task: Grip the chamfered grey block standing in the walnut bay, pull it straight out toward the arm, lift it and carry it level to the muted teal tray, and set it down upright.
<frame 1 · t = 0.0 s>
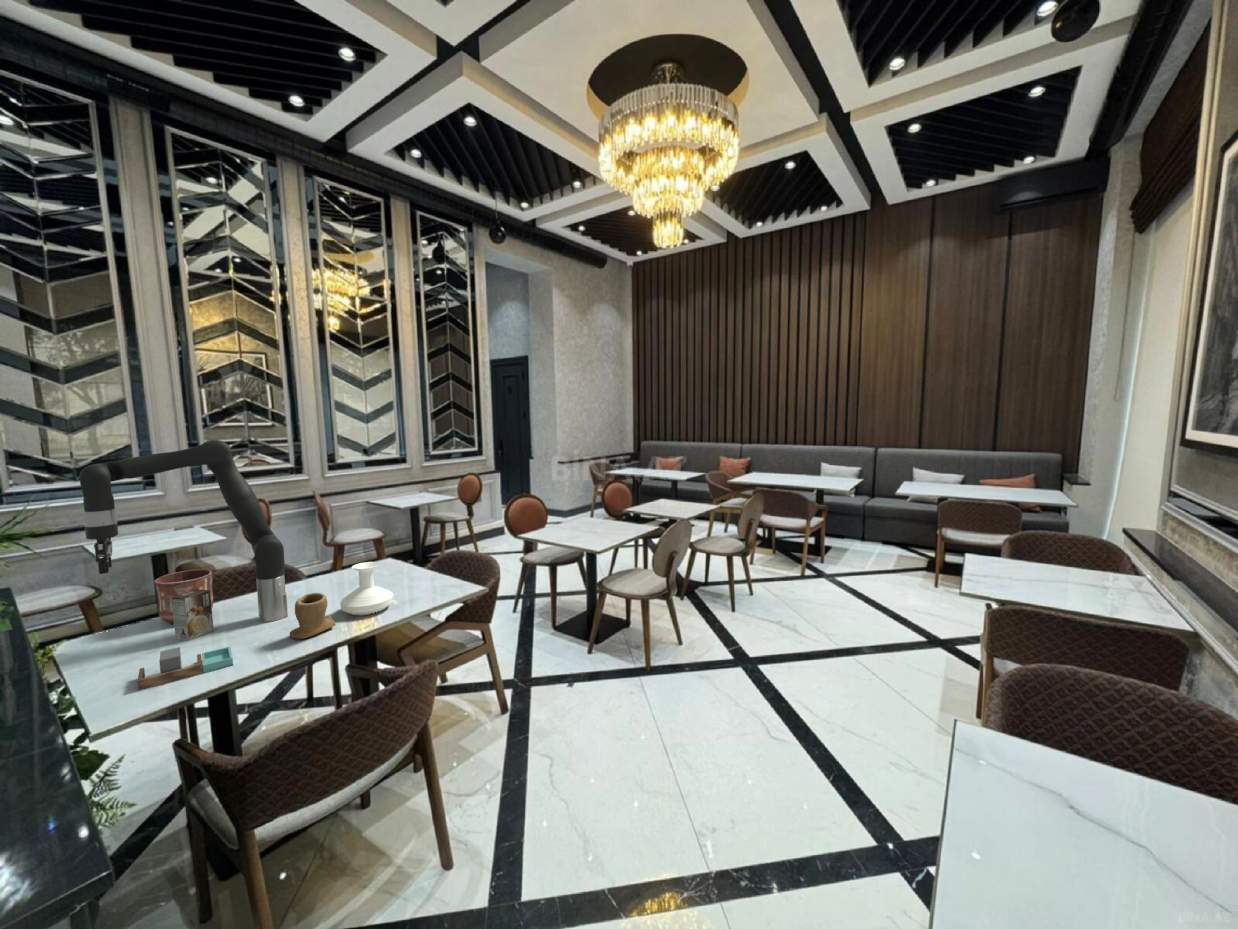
hand: (105, 570, 163), 29 cm above the table, fingers open, 8 cm apart
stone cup: (315, 633, 181), on the table
walnut bay: (171, 674, 151), on the table
pottery: (187, 619, 194), on the table
teal tray: (217, 662, 159), on the table
coffee box: (194, 635, 179), on the table
chamfered grey block: (171, 675, 151), on the table
white vase: (367, 610, 204), on the table
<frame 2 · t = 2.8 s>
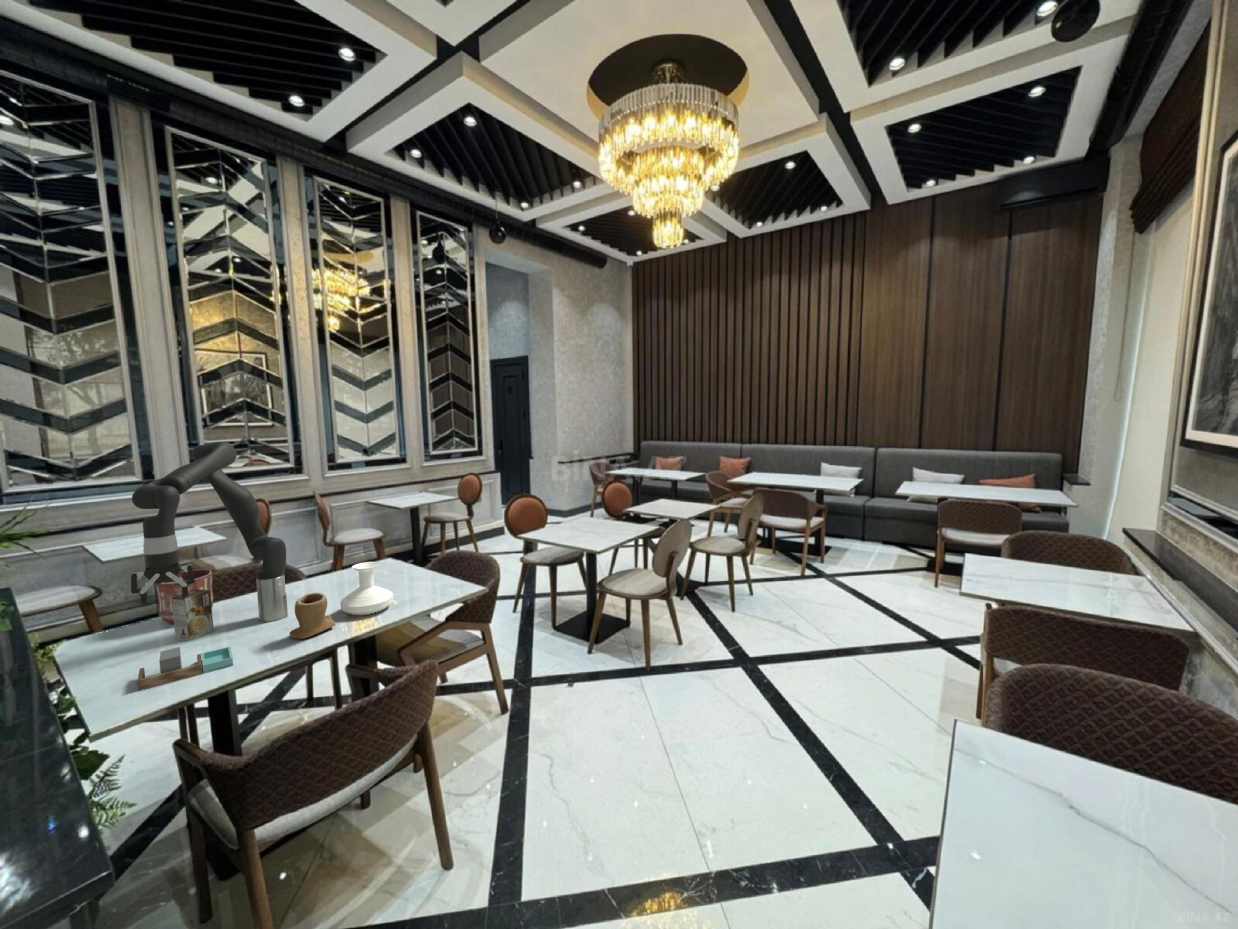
hand: (165, 601, 149), 24 cm above the table, fingers open, 8 cm apart
nothing on the table moved.
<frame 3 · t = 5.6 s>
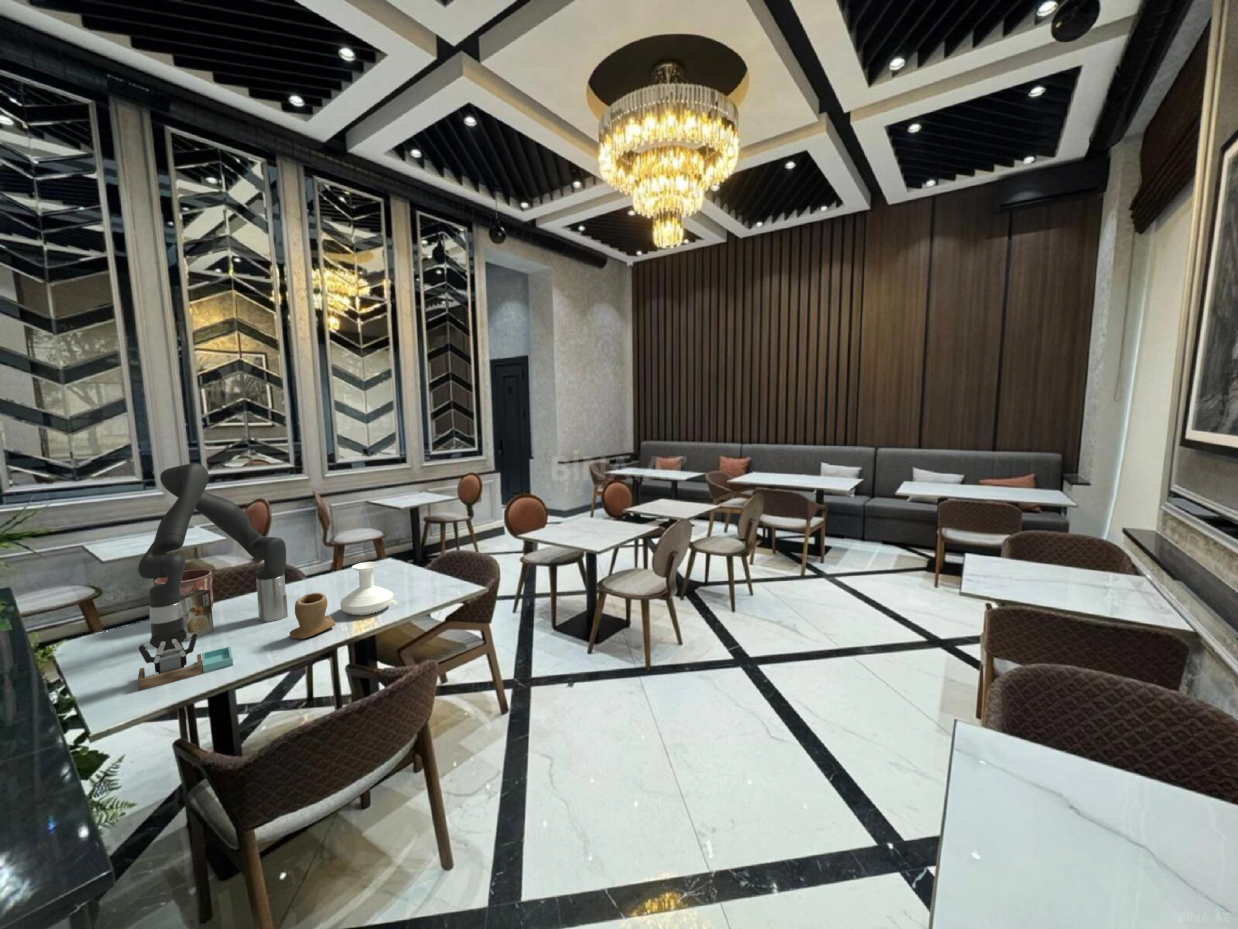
hand: (171, 669, 151), 2 cm above the table, fingers closed on chamfered grey block, 4 cm apart
chamfered grey block: (171, 674, 151), on the table, touching gripper
everything else where it was.
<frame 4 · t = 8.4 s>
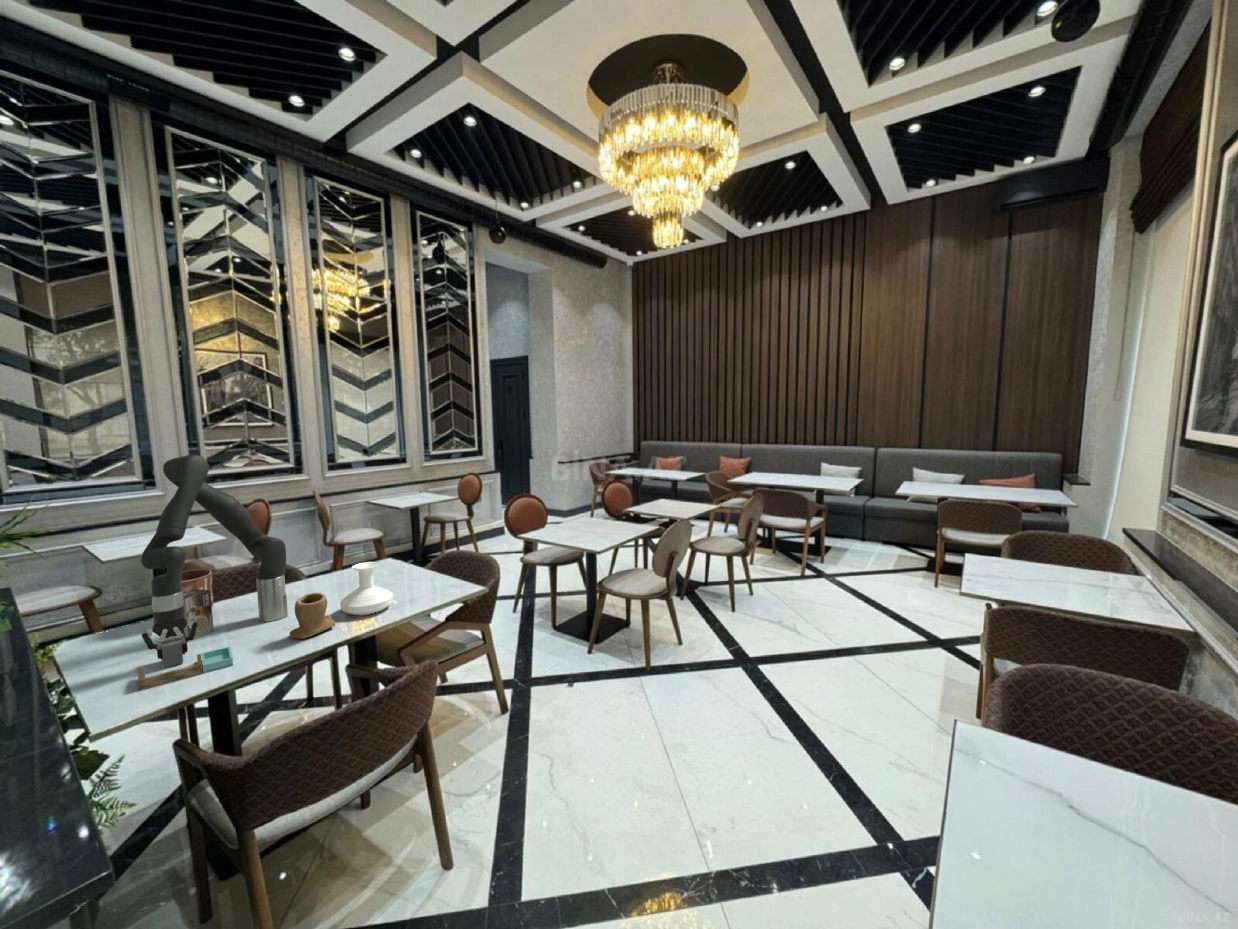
hand: (173, 656, 159), 2 cm above the table, fingers closed on chamfered grey block, 4 cm apart
chamfered grey block: (173, 660, 159), on the table, touching gripper
everything else where it was.
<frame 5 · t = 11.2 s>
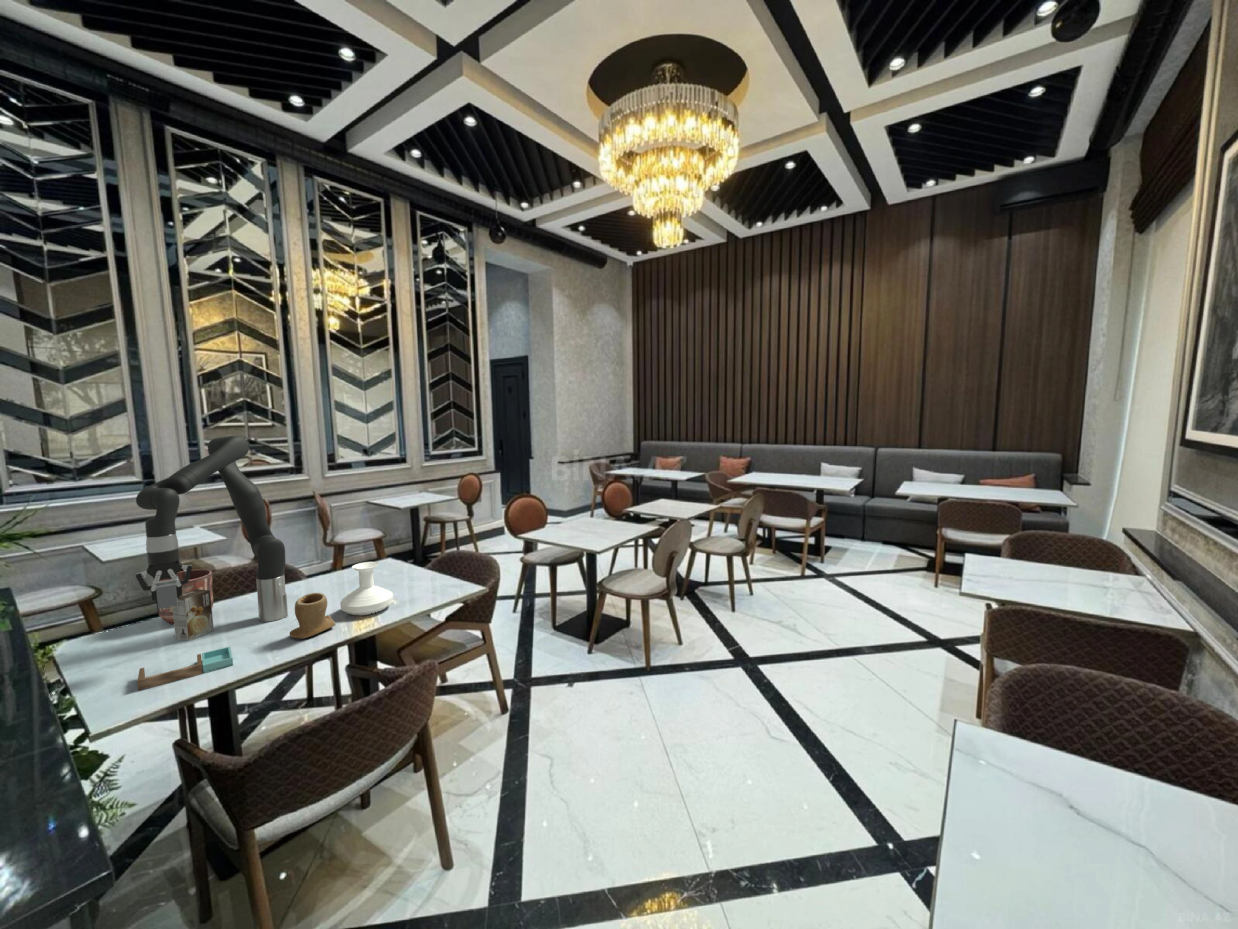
hand: (167, 598, 158), 21 cm above the table, fingers closed on chamfered grey block, 4 cm apart
chamfered grey block: (168, 603, 158), point 20 cm above the table, touching gripper
everything else where it was.
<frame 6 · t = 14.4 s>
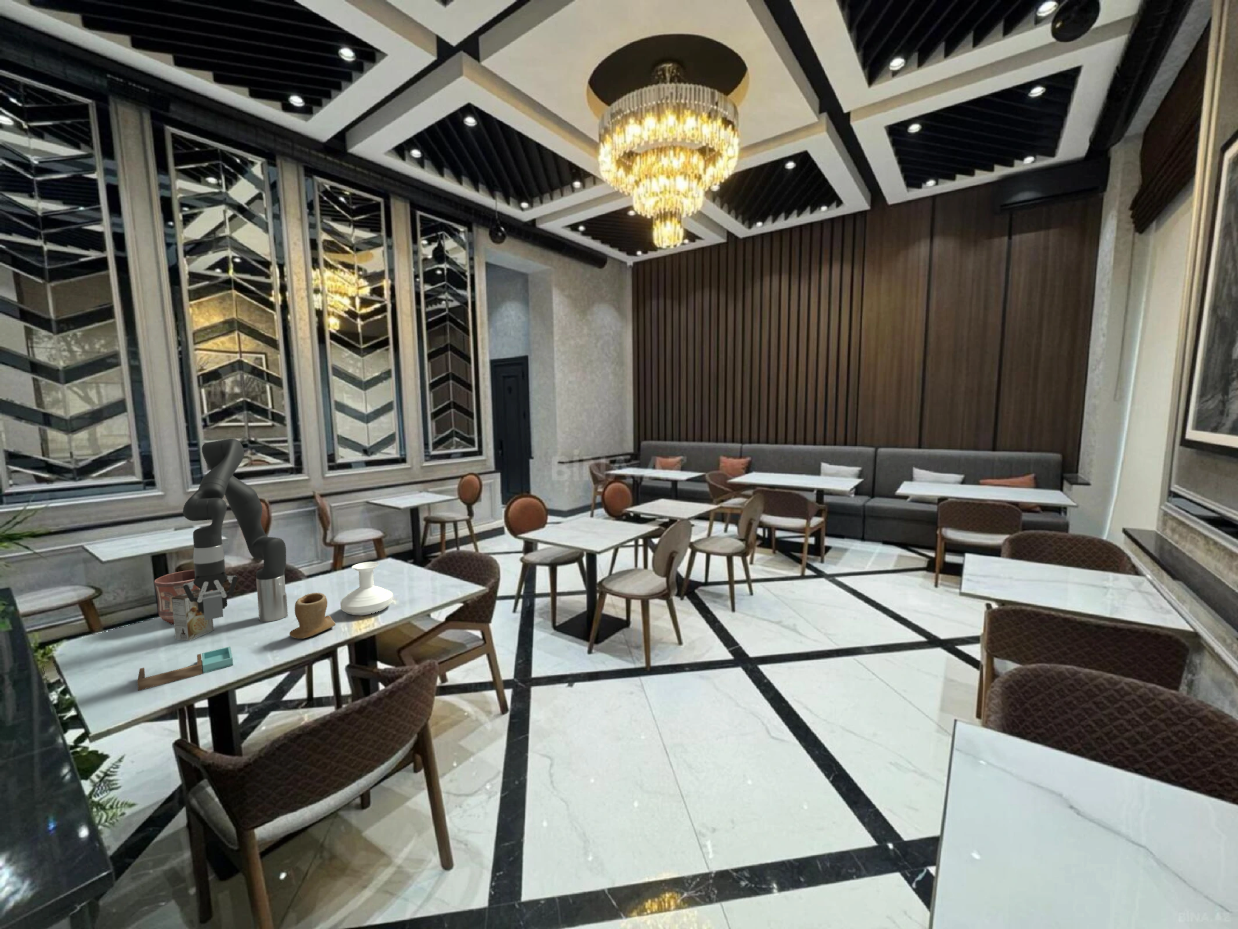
hand: (213, 610, 157), 18 cm above the table, fingers closed on chamfered grey block, 4 cm apart
chamfered grey block: (213, 614, 157), point 16 cm above the table, touching gripper
everything else where it was.
when the fingers open (3 cm above the table, at t = 17.3 s): chamfered grey block drops 1 cm, resting on teal tray.
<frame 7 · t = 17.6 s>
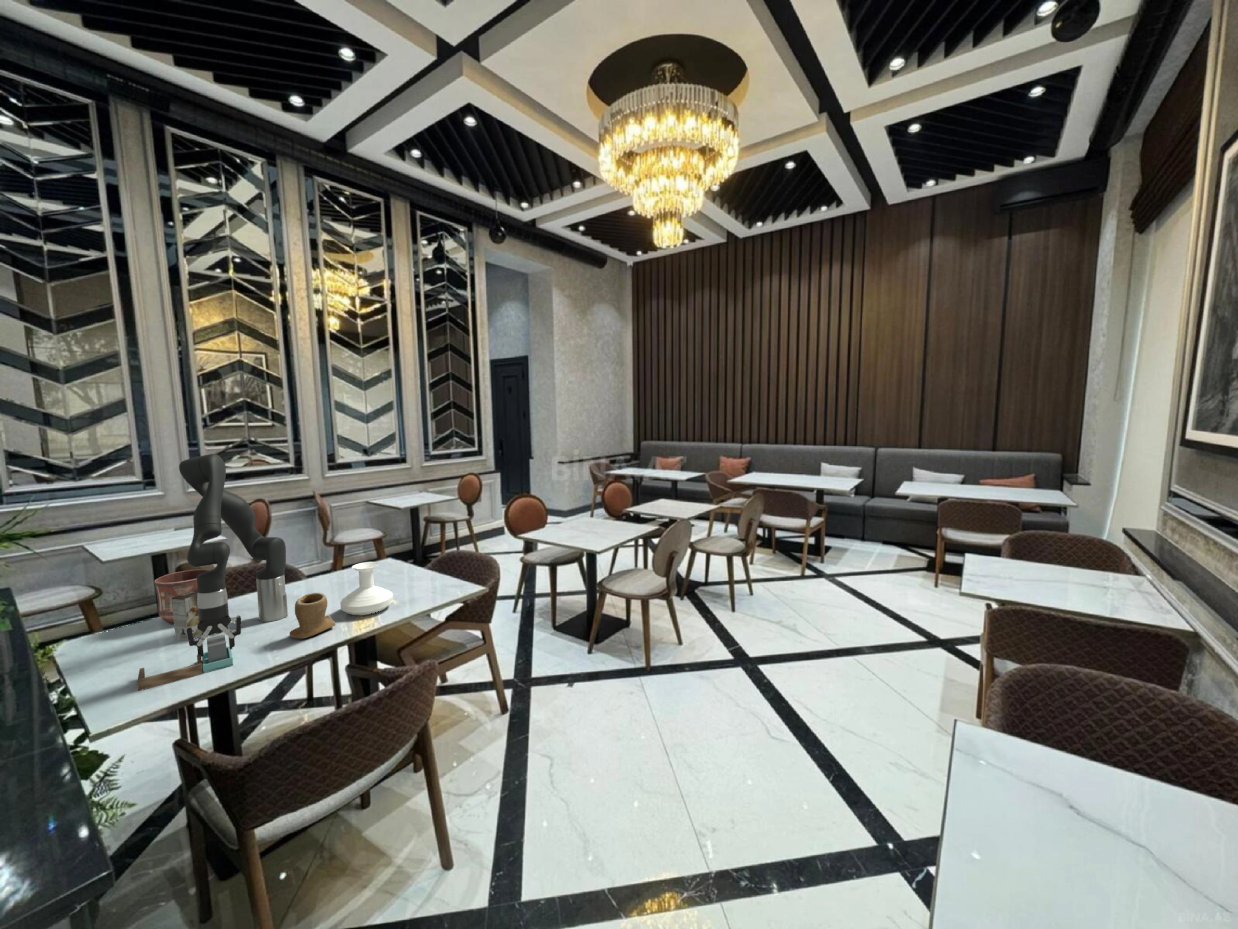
hand: (216, 652, 158), 4 cm above the table, fingers open, 6 cm apart
chamfered grey block: (217, 661, 159), point 1 cm above the table, touching teal tray
everything else where it was.
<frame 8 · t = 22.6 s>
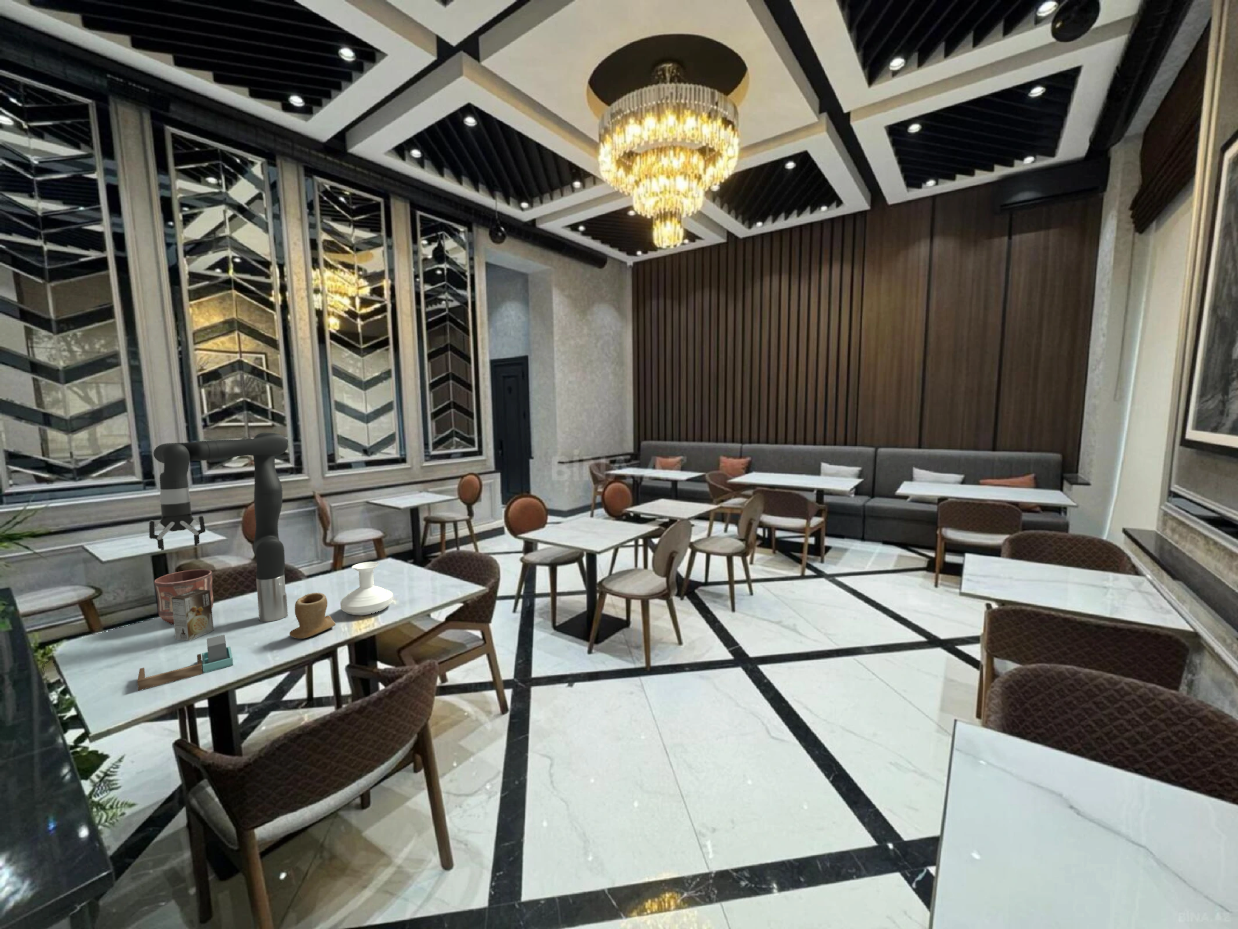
hand: (179, 547, 166), 36 cm above the table, fingers open, 8 cm apart
nothing on the table moved.
at the end: chamfered grey block 0.1 cm off-centre on the teal tray, point 0.6 cm above the teal tray's base; chamfered grey block tilted 0°; the gripper is holding nothing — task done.
